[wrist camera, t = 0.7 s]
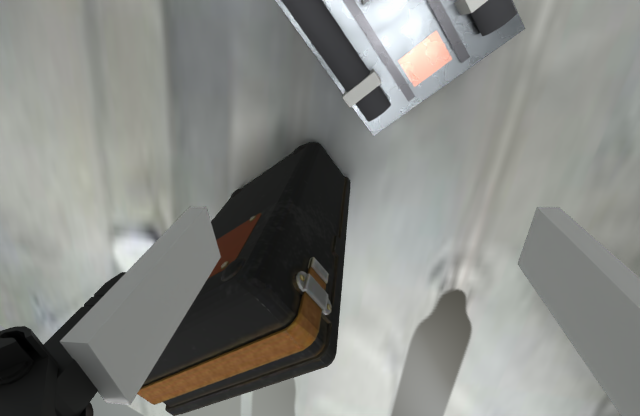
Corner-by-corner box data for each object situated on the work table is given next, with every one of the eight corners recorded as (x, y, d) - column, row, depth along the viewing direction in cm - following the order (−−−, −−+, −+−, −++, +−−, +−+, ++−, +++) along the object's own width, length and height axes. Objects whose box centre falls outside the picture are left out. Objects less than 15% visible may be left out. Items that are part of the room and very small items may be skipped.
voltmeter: (267, 238, 44) (177, 429, 23) (227, 193, 41) (80, 365, 20) (358, 186, 38) (352, 377, 17) (318, 130, 36) (250, 275, 14)
